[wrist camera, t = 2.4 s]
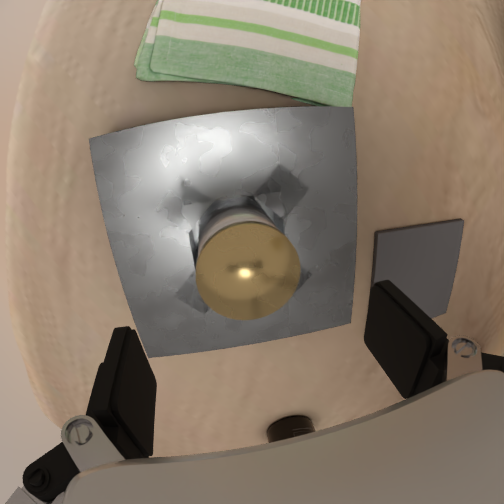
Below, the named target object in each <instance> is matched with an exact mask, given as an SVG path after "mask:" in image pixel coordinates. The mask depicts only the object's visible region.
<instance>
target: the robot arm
mask: <svg viewBox="0 0 504 504" xmlns="http://www.w3.org/2000/svg"><path fill="white" fill-rule="evenodd" d="M446 337H447V334H446V333H445V332H444V331H443V330H442V329H441V328H440V327H439V326H438V325H437V324H436V323H435V322H434V321H433V320H432V319H431V318H430V317H429V316H428V315H427V314H426V313H425V312H424V311H423V310H422V309H420V308H419V307H418V306H417V305H416V304H415V303H414V302H413V301H412V300H411V299H410V298H409V297H408V296H406V295H405V294H404V293H403V292H402V291H401V290H400V289H399V288H398V287H397V286H395V285H394V284H393V283H392V282H391V281H390V280H383V281H379V282H376V283H375V284H374V286H373V287H372V288H371V291H370V299H369V307H368V314H367V321H366V328H365V334H364V341H365V344H366V346H367V347H368V349H369V350H370V351H371V353H372V354H373V356H374V357H375V358H376V360H377V361H378V363H379V364H380V365H381V367H382V368H383V370H384V371H385V373H386V374H387V375H388V377H389V378H390V380H391V381H392V383H393V384H394V385H395V387H396V388H397V390H398V391H399V393H400V394H401V396H402V397H403V398H405V399H406V398H407V399H406V400H403V401H401V402H399V403H396V404H394V405H392V406H389V407H387V408H384V409H382V410H379V411H376V412H374V413H371V414H368V415H366V416H363V417H360V418H357V419H354V420H351V421H348V422H345V423H342V424H339V425H336V426H333V427H330V428H326V429H323V430H319V431H316V432H312V433H309V434H305V435H301V436H297V437H293V438H289V439H285V440H280V441H276V442H271V443H266V444H261V445H256V446H251V447H245V448H239V449H233V450H226V451H219V452H211V453H202V454H193V455H183V456H171V457H154V458H149V456H152V455H153V439H154V418H155V402H156V389H157V383H156V378H155V376H154V374H153V371H152V369H151V367H150V365H149V362H148V360H147V358H146V355H145V353H144V350H143V348H142V345H141V343H140V340H139V338H138V335H137V333H136V331H135V330H131V328H130V327H129V326H126V327H118V328H115V329H114V331H113V334H112V337H111V340H110V343H109V346H108V350H107V353H106V356H105V359H104V362H102V363H101V364H100V366H99V368H98V372H97V375H96V378H95V382H94V385H93V389H92V393H91V396H90V400H89V404H88V408H87V412H86V415H78V416H75V417H73V418H71V419H69V420H68V421H67V422H66V423H65V424H64V426H63V428H62V431H61V438H62V441H63V442H61V443H60V444H59V445H57V446H56V447H54V448H53V449H52V450H50V451H49V452H47V453H46V454H45V455H43V456H42V457H40V458H39V459H37V460H36V461H34V462H33V463H31V464H30V465H29V466H28V467H27V468H26V469H25V471H24V474H23V484H24V486H23V487H22V489H21V488H20V487H18V488H17V489H16V491H15V492H14V493H13V494H12V496H11V497H10V498H9V499H8V501H7V502H6V503H5V504H504V357H502V356H497V355H491V354H486V353H481V348H480V346H479V344H478V343H477V342H476V341H475V340H474V339H472V338H470V337H468V336H463V335H459V336H454V337H453V338H451V339H450V341H449V340H448V339H447V338H446Z"/></svg>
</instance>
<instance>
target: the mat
mask: <svg viewBox="0 0 504 504" xmlns="http://www.w3.org/2000/svg"><path fill="white" fill-rule="evenodd" d="M463 226H464V220H462V219H456V220H449V221H443V222H436V223H429V224H423V225H416V226H410V227H403V228H396V229H390V230H383V231H376V232H375V240H374V256H373V268H372V279H371V288H372V287H373V286H374V284H375V283H376V282H379V281H383V280H390V281H391V282H392V283H393V284H394V285H395V286H397V287H398V288H399V289H400V290H401V291H402V292H403V293H404V294H405V295H406V296H408V297H409V298H410V299H411V300H412V301H413V302H414V303H415V304H416V305H417V306H418V307H419V308H420V309H422V310H423V311H424V312H425V313H426V314H427V315H428V316H429V317H430V318H433V317H436V316H439V315H441V314H444V313H446V310H447V307H448V303H449V299H450V295H451V291H452V287H453V282H454V278H455V273H456V268H457V263H458V258H459V252H460V246H461V240H462V233H463ZM370 291H371V289H370ZM369 299H370V298H369Z"/></svg>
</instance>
